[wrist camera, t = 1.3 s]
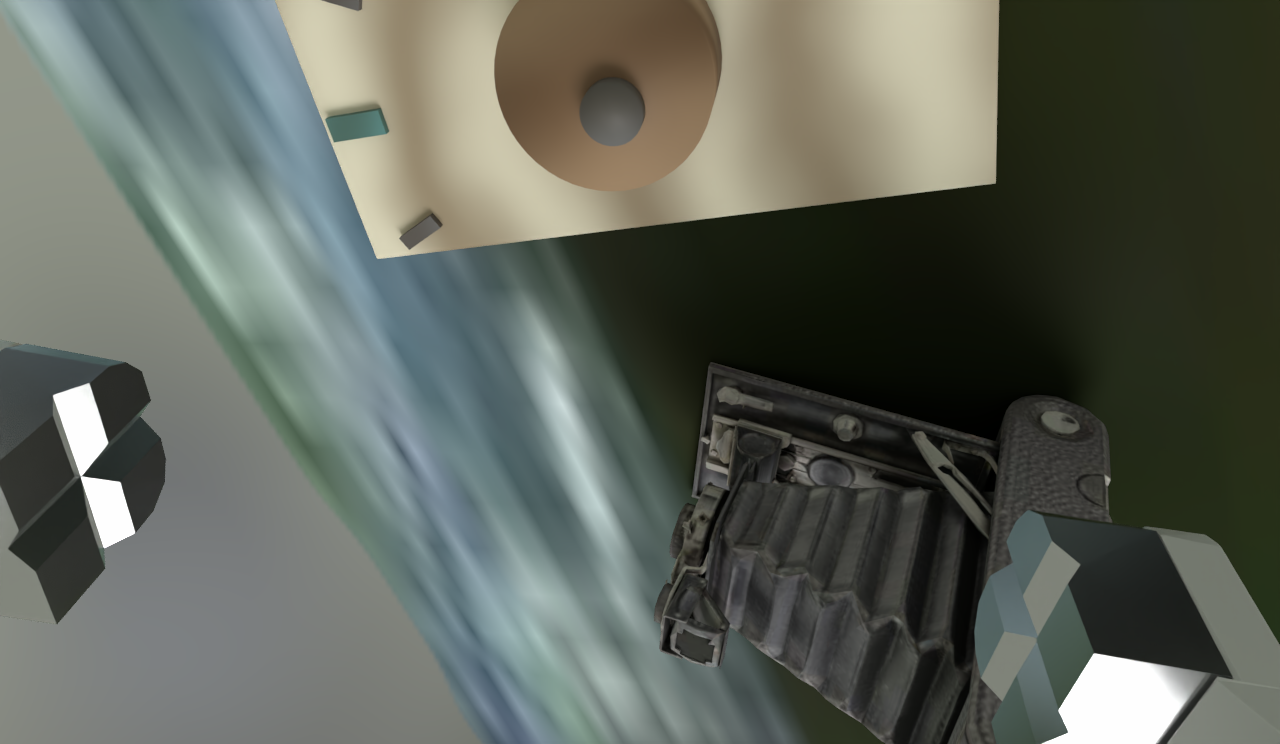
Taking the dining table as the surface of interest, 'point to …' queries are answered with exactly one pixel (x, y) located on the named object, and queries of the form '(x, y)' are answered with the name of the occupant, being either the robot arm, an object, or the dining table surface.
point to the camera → (865, 543)
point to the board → (724, 157)
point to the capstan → (608, 86)
